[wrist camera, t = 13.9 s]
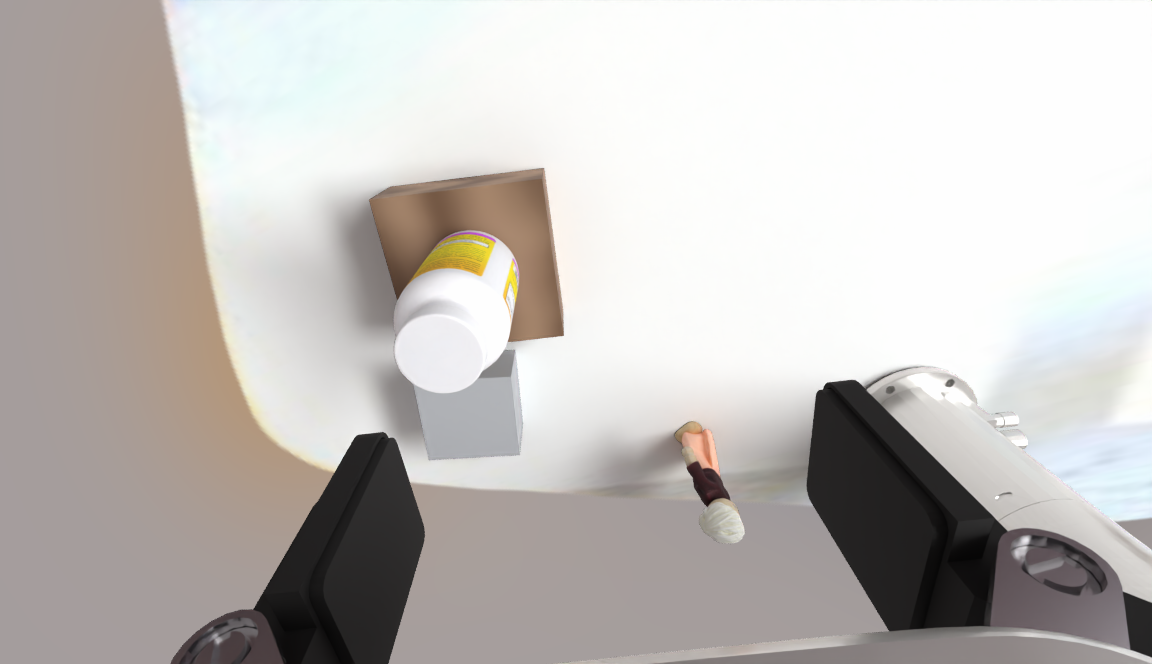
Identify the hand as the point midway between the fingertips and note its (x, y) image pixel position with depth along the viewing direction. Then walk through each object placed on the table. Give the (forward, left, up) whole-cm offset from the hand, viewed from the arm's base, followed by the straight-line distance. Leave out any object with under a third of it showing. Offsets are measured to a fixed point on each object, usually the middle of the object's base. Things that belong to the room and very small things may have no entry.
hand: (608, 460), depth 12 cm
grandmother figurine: (-9, +25, -32) cm, 42 cm away
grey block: (+11, +17, -33) cm, 38 cm away
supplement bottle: (+8, +4, -28) cm, 29 cm away
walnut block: (+8, +4, -32) cm, 34 cm away
